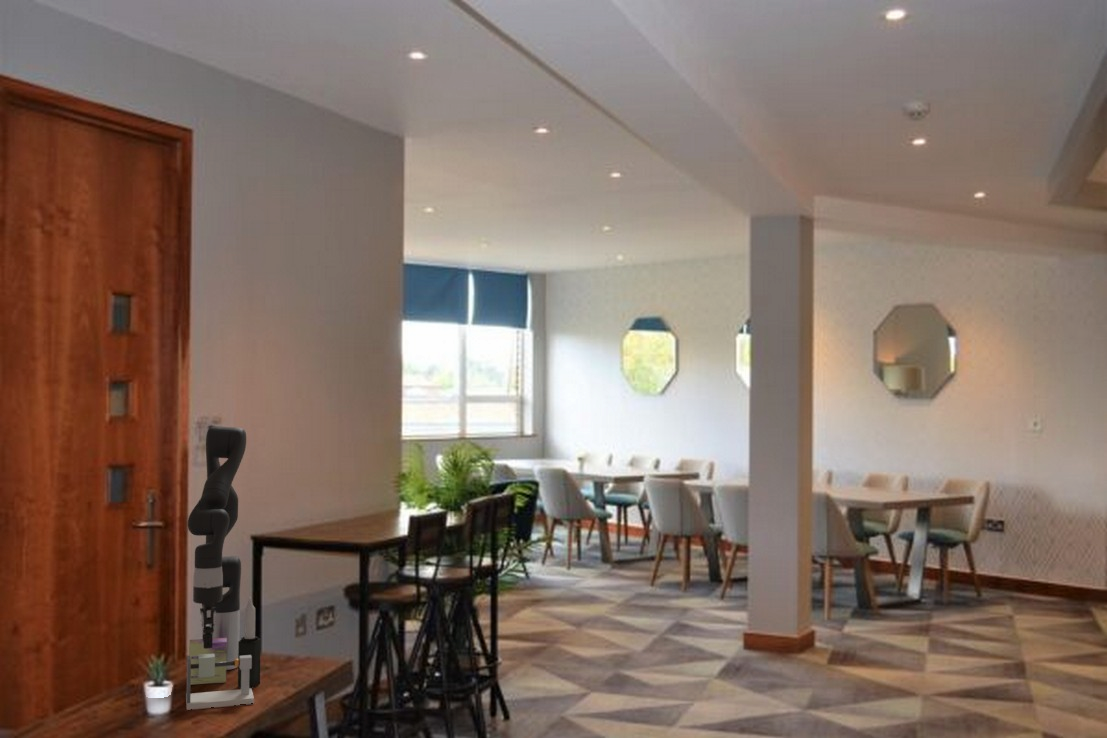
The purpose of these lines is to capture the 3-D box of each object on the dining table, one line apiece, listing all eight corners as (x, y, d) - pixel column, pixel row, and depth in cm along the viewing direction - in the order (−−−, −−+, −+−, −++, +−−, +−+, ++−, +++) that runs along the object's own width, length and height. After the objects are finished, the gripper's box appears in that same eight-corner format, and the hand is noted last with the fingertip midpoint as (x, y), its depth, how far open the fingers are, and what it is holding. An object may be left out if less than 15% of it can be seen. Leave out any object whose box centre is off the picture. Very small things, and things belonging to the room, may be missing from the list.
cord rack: (186, 699, 284) (186, 654, 284) (251, 693, 289) (251, 650, 290) (186, 709, 274) (187, 663, 274) (254, 703, 280) (254, 658, 280)
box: (226, 677, 306) (226, 636, 306) (226, 682, 300) (227, 641, 301) (188, 680, 303) (189, 639, 303) (188, 685, 297) (188, 643, 298)
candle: (252, 688, 295) (254, 598, 295) (236, 687, 296) (237, 598, 296) (261, 683, 300) (262, 595, 300) (245, 682, 301) (246, 594, 301)
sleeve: (198, 673, 282) (198, 654, 282) (214, 672, 283) (214, 653, 283) (198, 677, 278) (199, 658, 278) (214, 675, 280) (214, 657, 280)
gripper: (192, 580, 287) (191, 640, 286) (193, 589, 274) (193, 651, 273) (221, 579, 289) (220, 638, 289) (224, 587, 276) (223, 649, 276)
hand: (207, 644), depth 281 cm, fingers open, 8 cm apart
